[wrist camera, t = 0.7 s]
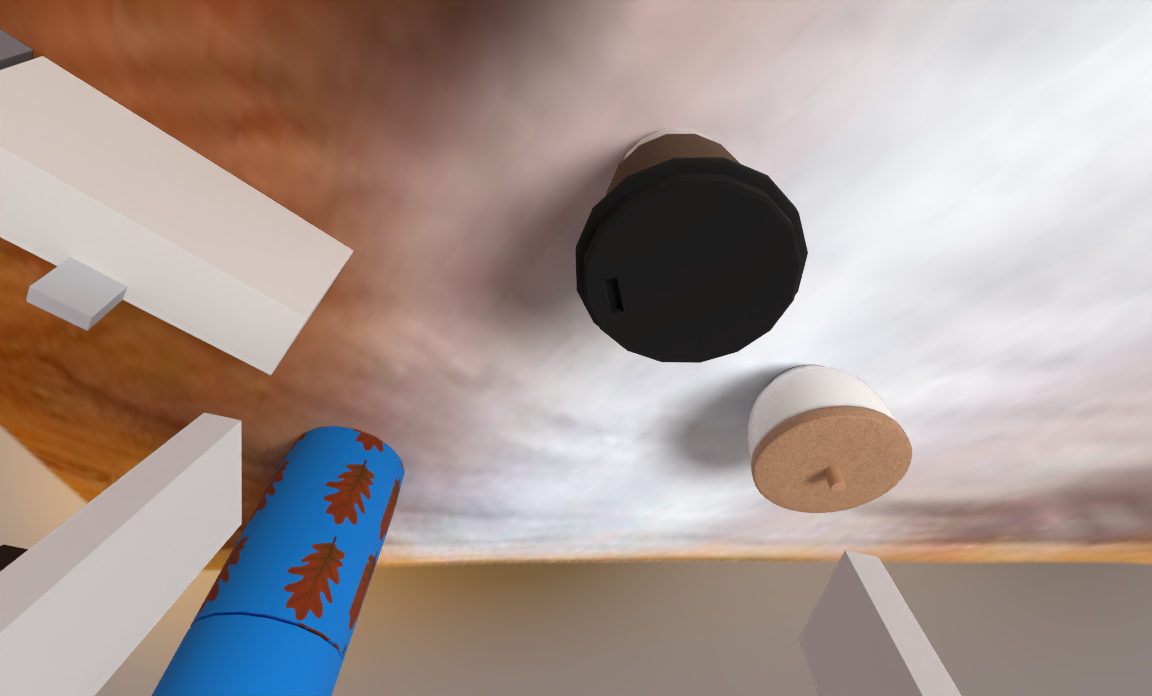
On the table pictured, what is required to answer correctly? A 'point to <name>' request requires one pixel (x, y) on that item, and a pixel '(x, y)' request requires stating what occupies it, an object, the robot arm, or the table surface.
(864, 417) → the lidded jar
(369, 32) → the table surface
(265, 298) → the white box with knob
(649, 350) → the coffee cup
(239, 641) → the thermos
